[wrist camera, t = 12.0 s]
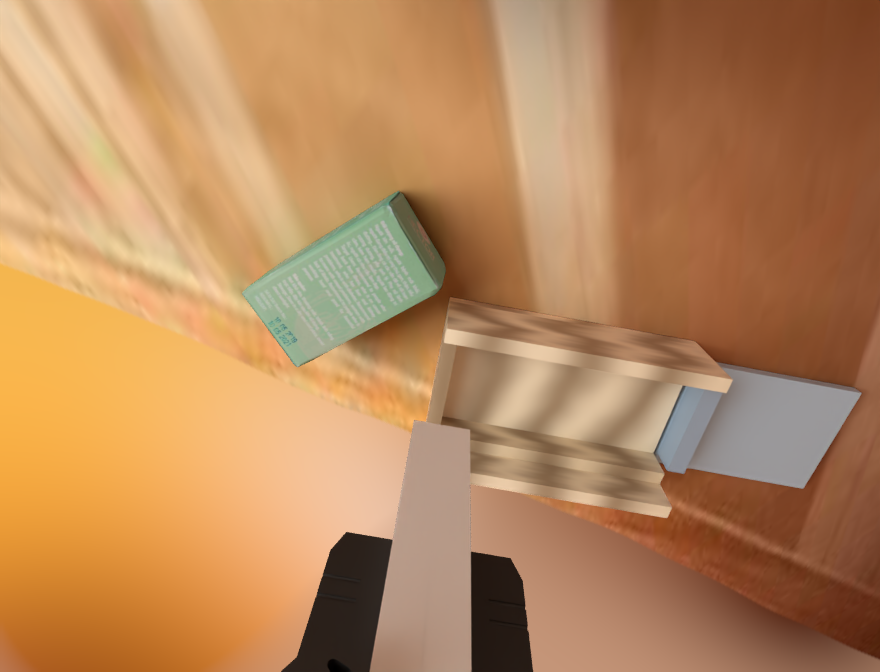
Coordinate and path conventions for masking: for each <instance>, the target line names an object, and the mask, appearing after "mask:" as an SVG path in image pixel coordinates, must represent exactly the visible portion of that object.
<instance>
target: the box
mask: <svg viewBox="0 0 880 672" xmlns="http://www.w3.org/2000/svg"><path fill="white" fill-rule="evenodd" d="M445 273H446V268H445V264H444V262H443V260H442V258H441V257H440V255H439V253H438V252H437V250H436V248H435V247H434V245H433V243H432V242H431V240H430V238H429V237H428V235H427V234H426V232H425V230H424V229H423V227H422V225H421V224H420V222H419V220H418V219H417V217H416V215H415V214H414V212H413V210H412V208H411V207H410V205H409V203H408V201H407V200H406V198H405V197H404V195H403V194H402V193H401V192H399V191H398V192H396V193H394V194H392V195H390V196H389V197H387V198H385V199H384V200H382V201H380V202H379V203H377V204H376V205H374V206H372V207H371V208H369V209H367V210H366V211H364V212H363V213H361V214H359V215H358V216H356V217H354V218H353V219H351V220H349V221H348V222H346V223H345V224H343V225H341V226H340V227H338V228H336V229H335V230H333V231H332V232H330V233H328V234H327V235H325V236H323V237H322V238H320V239H318V240H317V241H315V242H314V243H312V244H310V245H309V246H307V247H306V248H304V249H302V250H301V251H299V252H298V253H296V254H295V255H293V256H291V257H290V258H288V259H286V260H285V261H283V262H282V263H280V264H279V265H277V266H276V267H274V268H273V269H271V270H270V271H268V272H267V273H266V274H264V275H263V276H262V277H261V278H260V279H258V280H257V281H255V282H254V283H253V284H251V285H250V286H249V287H248V288H246V289H245V291H244V292H243V293H242V295H243V296H244V297H245V299H246V300H247V301H248V303H249V304H250V305H251V307H252V308H253V309H254V311H255V312H256V313H257V315H258V316H259V318H260V319H261V320H262V322H263V323H264V324H265V326H266V327H267V328H268V330H269V331H270V332H271V334H272V335H273V336H274V338H275V339H276V341H277V342H278V343H279V345H280V346H281V347H282V349H283V350H284V351H285V353H286V354H287V355H288V357H289V358H290V360H291V361H292V362H293V364H294V365H295V366H296V367H299V366H301V365H303V364H305V363H308V362H310V361H312V360H314V359H315V358H317V357H319V356H321V355H323V354H324V353H326V352H328V351H330V350H332V349H334V348H335V347H337V346H339V345H341V344H343V343H345V342H347V341H348V340H350V339H352V338H354V337H356V336H358V335H360V334H362V333H363V332H365V331H367V330H369V329H371V328H373V327H375V326H377V325H379V324H380V323H382V322H384V321H386V320H388V319H390V318H392V317H394V316H395V315H397V314H399V313H401V312H403V311H405V310H406V309H408V308H410V307H412V306H414V305H416V304H418V303H420V302H421V301H423V300H425V299H427V298H429V297H431V296H434V295H435V294H436V293H437V292H438V291H439V290H440V289H441V287H442V284H443V280H444V276H445Z"/></svg>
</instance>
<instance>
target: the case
mask: <svg viewBox="0 0 880 672" xmlns="http://www.w3.org/2000/svg"><path fill="white" fill-rule="evenodd" d="M732 381H733V379H732V378H731V377H730V376H729V375H728V374H727V373H726V372H725V371H724V370H723V369H722V368H721V367H720V366H719V365H718V364H717V363H716V362H715V361H714V360H713V359H712V358H711V357H710V356H709V355H708V354H707V353H706V352H705V351H704V350H703V349H702V348H701V347H700V346H699V345H698V344H697V343H696V342H695V341H691V340H686V339H680V338H675V337H669V336H664V335H658V334H653V333H647V332H642V331H636V330H630V329H625V328H619V327H614V326H608V325H603V324H597V323H592V322H586V321H581V320H575V319H570V318H564V317H559V316H553V315H547V314H542V313H536V312H531V311H525V310H520V309H514V308H509V307H503V306H498V305H492V304H487V303H481V302H475V301H470V300H464V299H459V298H453V297H450V299H449V304H448V309H447V315H446V320H445V325H444V330H443V336H442V341H441V346H440V351H439V356H438V362H437V367H436V372H435V377H434V382H433V388H432V393H431V398H430V403H429V409H428V414H427V419H426V422H428V423H434V424H440V425H446V426H451V427H457V428H463V429H469V430H470V484H473V485H478V486H484V487H490V488H495V489H501V490H507V491H513V492H519V493H524V494H530V495H536V496H542V497H548V498H553V499H559V500H565V501H571V502H577V503H583V504H588V505H594V506H600V507H606V508H612V509H617V510H623V511H629V512H635V513H641V514H646V515H652V516H658V517H664V518H667V517H668V515H669V513H670V511H671V509H672V506H671V505H670V503H669V501H668V499H667V497H666V495H665V493H664V491H663V489H662V487H661V485H660V483H661V481H662V478H663V476H664V472H663V470H662V468H661V466H660V464H659V462H658V461H657V459H656V457H655V455H654V451H655V448H656V446H657V444H658V442H659V439H660V437H661V435H662V432H663V430H664V428H665V425H666V423H667V421H668V418H669V416H670V414H671V411H672V409H673V407H674V404H675V402H676V400H677V397H678V395H679V393H680V390H681V388H682V386H689V387H694V388H700V389H706V390H711V391H717V392H722V393H727V391H728V389H729V387H730V385H731V383H732Z"/></svg>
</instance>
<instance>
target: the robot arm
mask: <svg viewBox="0 0 880 672" xmlns="http://www.w3.org/2000/svg"><path fill="white" fill-rule="evenodd" d="M470 510H471V504H470V430H469V429H463V428H457V427H451V426H446V425H440V424H434V423H428V422H423V421H417V420H414V423H413V429H412V434H411V440H410V445H409V451H408V457H407V462H406V468H405V473H404V479H403V484H402V490H401V496H400V501H399V507H398V512H397V518H396V524H395V529H394V535H393V540H390V539H384V538H379V537H372V536H367V535H361V534H355V533H349V532H346V533H345V534H344V535H343V537H342V538H341V539H340V540H339V541H338V542H337V543H336V544H335V546H334V547H333V548H332V549H331V551H330V554H329V557H328V560H327V563H326V567H325V569H324V573H323V577H322V579H321V582H320V585H319V589H318V592H317V596H316V598H315V601H314V605H313V608H312V611H311V614H310V617H309V621H308V624H307V627H306V630H305V633H304V636H303V639H302V643H301V646H300V649H299V652H298V656H297V658H295V659H294V660H293V661H292V662H291V663H290V664H289V665H288V666H287V667H286V668H284V669H283V670H282V671H281V672H533V668H532V658H531V650H530V641H529V632H528V631H527V626H528V625H527V615H526V610H525V598H524V589H523V581H522V579H521V577H520V575H519V573H518V571H517V569H516V568H515V566H514V564H513V562H512V560H511V558H506V557H499V556H494V555H488V554H482V553H476V552H471V517H470V515H471V513H470V512H471V511H470Z"/></svg>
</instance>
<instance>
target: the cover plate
mask: <svg viewBox="0 0 880 672" xmlns="http://www.w3.org/2000/svg"><path fill="white" fill-rule="evenodd" d="M716 363H717V364H718V365H719V366H720V367H721V368H722V369H723V370H724V371H725V372H726V373H727V374H728V375H729V376H730V377H731V378H732V379H733V381H732V383H731V385H730V387H729V389H728V391H727V393H722V392H717V391H711V390H706V389H700V388H694V387H689V386H682V388H681V390H680V393H679V395H678V397H677V400H676V402H675V404H674V407H673V409H672V411H671V414H670V416H669V418H668V421H667V423H666V425H665V428H664V430H663V432H662V435H661V437H660V439H659V442H658V444H657V446H656V448H655V451H654V455H655V457H656V459H657V461H658V462H659V463H662V464H664V466H665V468H666V470H667V471H671V472H677V473H682V474H684V473H685V471H686V469H687V468H690V469H696V470H701V471H707V472H713V473H718V474H724V475H729V476H735V477H741V478H746V479H752V480H757V481H763V482H769V483H774V484H780V485H785V486H791V487H796V488H802V489H803V488H804V487H805V485H806V483H807V482H808V480H809V478H810V477H811V475H812V474H813V472H814V470H815V469H816V467H817V465H818V464H819V462H820V461H821V459H822V457H823V456H824V454H825V452H826V451H827V449H828V448H829V446H830V444H831V443H832V441H833V439H834V438H835V436H836V435H837V433H838V431H839V430H840V428H841V426H842V425H843V423H844V421H845V420H846V418H847V417H848V415H849V413H850V412H851V410H852V408H853V407H854V405H855V404H856V402H857V400H858V399H859V397H860V395H861V394H862V393H861V392H859V391H858V390H857V389H855V388H853V387H848V386H842V385H837V384H832V383H826V382H821V381H815V380H810V379H805V378H799V377H794V376H788V375H783V374H778V373H772V372H767V371H761V370H756V369H751V368H745V367H740V366H735V365H729V364H724V363H718V362H716Z"/></svg>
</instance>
